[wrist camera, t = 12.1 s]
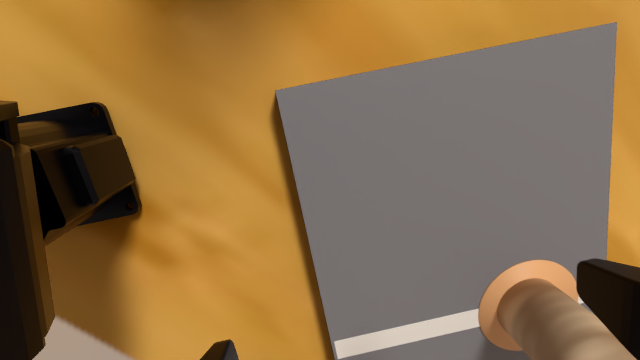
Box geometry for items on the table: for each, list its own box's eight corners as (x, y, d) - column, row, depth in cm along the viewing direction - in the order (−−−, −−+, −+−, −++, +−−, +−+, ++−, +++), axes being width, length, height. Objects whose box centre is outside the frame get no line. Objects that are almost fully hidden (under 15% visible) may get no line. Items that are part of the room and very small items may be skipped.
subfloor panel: (342, 389, 25) (345, 409, 24) (276, 90, 19) (275, 90, 18) (584, 333, 26) (603, 349, 24) (593, 26, 20) (618, 21, 18)
